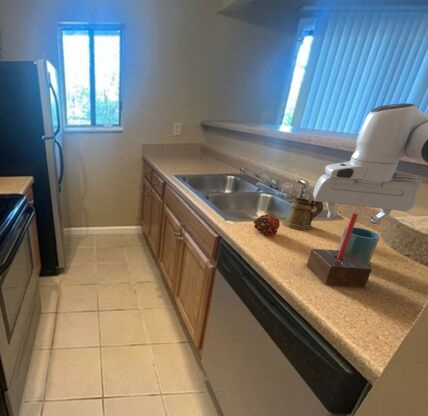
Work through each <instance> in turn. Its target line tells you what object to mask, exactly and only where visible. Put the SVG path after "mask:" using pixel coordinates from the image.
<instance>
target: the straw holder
mask: <svg viewBox="0 0 428 416" xmlns="http://www.w3.org/2000/svg"><path fill="white" fill-rule="evenodd" d="M338 253H339V250H338V249H322V248H321V249H320V248H311V249H310V253H309V255H308V260H307V262H306V266H307V267H308V268H309V269H310V270H311V272H312V273H313V274H315V276H316V277H317V278H318V279H319V280H320V281H321V282H322V283H323V284H324V285H328V286H341V287H353V288H365V287H366V285H367V283H368V281H369V277H370V276H371V273H372V270H373V269H372V268H371V267H369V265H368V266H367V265H366V264H364V263H363V262H362V261H360V260H359V259H358V258H356V257H355V256H354V255H352V254H351V253H350V252H348V251H345V253H344V256H343V259H342V260H337V256H338Z"/></svg>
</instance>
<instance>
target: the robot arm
mask: <svg viewBox="0 0 428 416" xmlns="http://www.w3.org/2000/svg"><path fill="white" fill-rule="evenodd" d="M402 158H406V159H410V160H413V161H417V162H420V163H423V164H428V114H427V113H425V112H423V111H422V110H420V109H419V108H417V106H416V104H414V103H409V102H408V103H407V102H406V103H405V102H404V103H392V104H385V105H380V106H377V107H374V108H372V109H371V110H370V111H369V112H368V114H367V115H366V117H365V119H364V120H363V122H362V125H361V127H360V130H359V133H358V135H357V138H356V147H355V150H354V152H353V153H352V155H351V156H350V160H348V161H343V162H338V163H331V164H327V165H326V166H325V168H324V172H325V173H324V174H322V175H321V176H320V177H319V178H318V180H317V182H316V184H315V187H314V189H313V191H312V197H313V200H316V201H318V202H322V203H325V206H326V208H327V215H326V216H327V218H328V219H336V218H337V215H338V212H337V211H336V210H333V208H335V205H336V204H337V205H344V206H354V207H355V206H356V207H362V208H363V207H364V208H372V209H379V211H380V212H379V213H377V214H376V215H371V216H370V219H369V222H370V224H372V225H380V224H381V221H382V220H383V219H384V218H386V217H387V216H389V215H390V214H391V212H392V211H398V212H409V211H411V210H412V209H413V208H414V205H415V204H416V203H415V202H416V199H417V195H418V191H419V190H420V188H421V186H422V184H423V180H422V178H421V177H419V176H418V175H417V174H414V173H402V172H401V173H400V172H396V170H397V168H398V165H399V162H400V159H402Z"/></svg>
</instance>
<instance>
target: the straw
mask: <svg viewBox="0 0 428 416" xmlns="http://www.w3.org/2000/svg"><path fill="white" fill-rule="evenodd" d="M358 217H359V213H356V212H352V213H351V216H350V219H349V222H348V225H347V227H346V228H347V230H346V233H345V236H344V239H343V242H342V245H341V248H340V250H339V253H338V256H337V260H342V259H343V256H344V253H345V250H346V247H347V244H348V242H349V239H350V236H351V233H352V230H353V227H355V224H356V221H357V219H358Z"/></svg>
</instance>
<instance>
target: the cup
mask: <svg viewBox="0 0 428 416" xmlns="http://www.w3.org/2000/svg"><path fill="white" fill-rule="evenodd" d="M346 230H347V227H345V228H344V230H343V232H342V236H341V239H340V241H339V245H338V248H337V250H340V248H341V245H342V242H343V239H344V236H345V233H346ZM379 240H380V235H379V234H378V233H377V232H375V231H372V230H369V229H366V228H362V227H357V226H354V227H353V230H352V233H351V236H350V239H349V242H348V244H347V247H346V250H345V251H348V252H350V253H351V254H352V255H354V256H355V257H356V258H358V259H359V260H360V261H362V262H363V263H364V264H366V265H367V266H368V267H369V265H370V263H371V260H372V258H373V255H374V252H375V250H376V248H377V245H378V243H379Z"/></svg>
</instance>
